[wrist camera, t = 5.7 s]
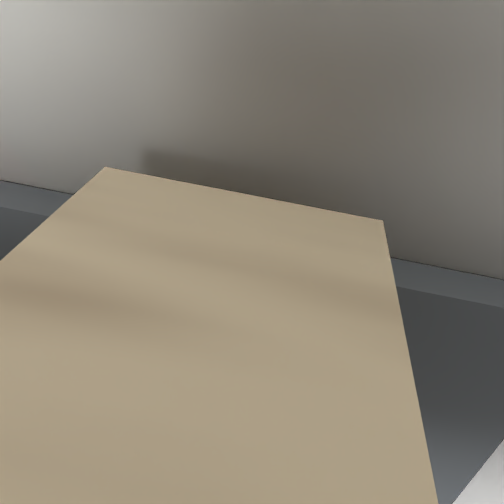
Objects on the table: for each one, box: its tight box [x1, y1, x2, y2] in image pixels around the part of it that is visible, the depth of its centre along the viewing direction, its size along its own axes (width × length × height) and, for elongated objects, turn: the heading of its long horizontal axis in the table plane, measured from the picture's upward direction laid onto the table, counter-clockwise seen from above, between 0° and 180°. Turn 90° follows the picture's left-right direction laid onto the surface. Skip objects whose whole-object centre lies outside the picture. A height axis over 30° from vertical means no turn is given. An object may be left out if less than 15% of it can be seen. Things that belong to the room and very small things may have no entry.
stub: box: [0, 167, 438, 504], centre depth 7 cm, size 7×5×6 cm
